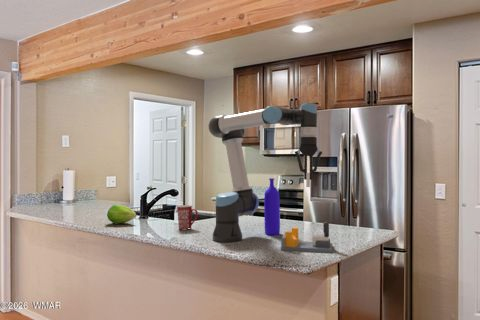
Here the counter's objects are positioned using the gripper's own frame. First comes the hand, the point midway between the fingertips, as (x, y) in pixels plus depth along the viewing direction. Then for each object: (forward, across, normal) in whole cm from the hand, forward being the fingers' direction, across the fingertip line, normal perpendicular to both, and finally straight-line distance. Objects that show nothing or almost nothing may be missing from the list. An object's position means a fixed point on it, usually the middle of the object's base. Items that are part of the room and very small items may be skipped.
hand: (308, 186), depth 184 cm
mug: (+29, -72, +27) cm, 82 cm away
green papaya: (+31, -120, +36) cm, 129 cm away
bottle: (+28, -21, +22) cm, 41 cm away
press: (+27, 0, -7) cm, 28 cm away
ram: (+25, +7, -7) cm, 27 cm away
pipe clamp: (+26, -6, -7) cm, 28 cm away
